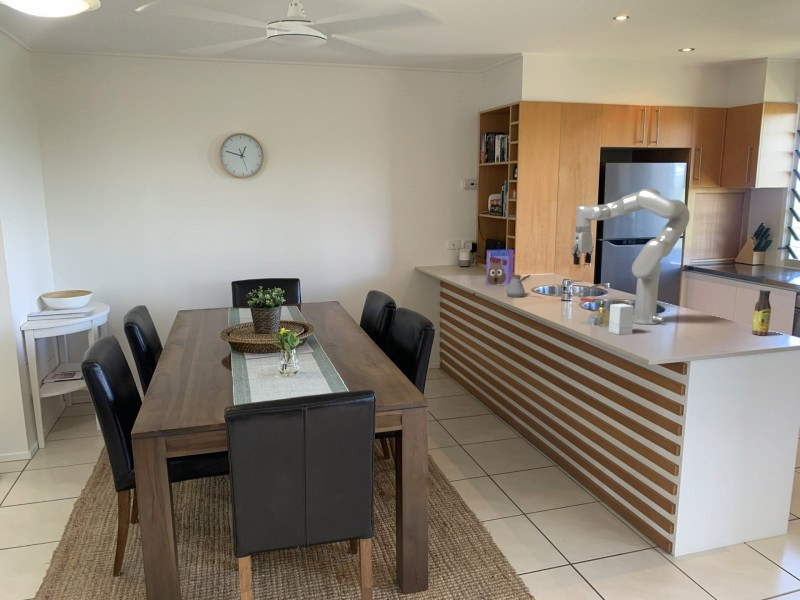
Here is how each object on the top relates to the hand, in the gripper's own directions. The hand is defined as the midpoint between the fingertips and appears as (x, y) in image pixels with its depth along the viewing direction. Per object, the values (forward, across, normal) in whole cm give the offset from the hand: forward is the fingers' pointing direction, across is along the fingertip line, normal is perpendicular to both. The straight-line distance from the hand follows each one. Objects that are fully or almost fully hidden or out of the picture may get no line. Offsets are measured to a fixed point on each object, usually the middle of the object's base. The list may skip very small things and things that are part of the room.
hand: (582, 263), depth 307 cm
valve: (+26, -11, -19) cm, 34 cm away
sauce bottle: (+28, +22, -77) cm, 85 cm away
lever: (+18, -11, -14) cm, 26 cm away
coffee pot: (+25, +12, +52) cm, 59 cm away
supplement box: (+27, -22, -36) cm, 50 cm away
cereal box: (+25, +41, +94) cm, 105 cm away
